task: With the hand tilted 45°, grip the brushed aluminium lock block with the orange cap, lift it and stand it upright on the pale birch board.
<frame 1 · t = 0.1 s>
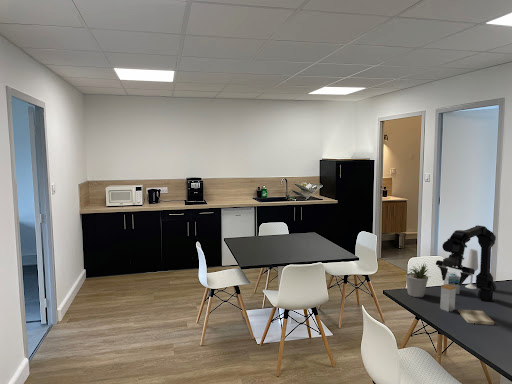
hand: (451, 282, 207), 15 cm above the table, tool pointing down, fingers open, 9 cm apart
aluminium lock block: (447, 309, 211), on the table
champagne flute: (470, 287, 248), on the table
birch board: (475, 318, 199), on the table
light bulb box: (451, 291, 241), on the table
potted plant: (416, 295, 232), on the table
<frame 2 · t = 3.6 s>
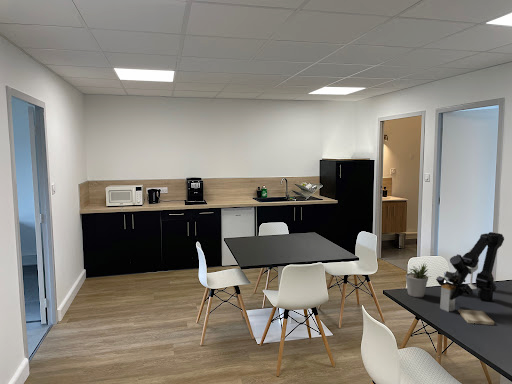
hand: (446, 297, 210), 7 cm above the table, tool tilted 45°, fingers closed on aluminium lock block, 5 cm apart
aluminium lock block: (447, 309, 211), on the table, touching gripper
everything else where it was.
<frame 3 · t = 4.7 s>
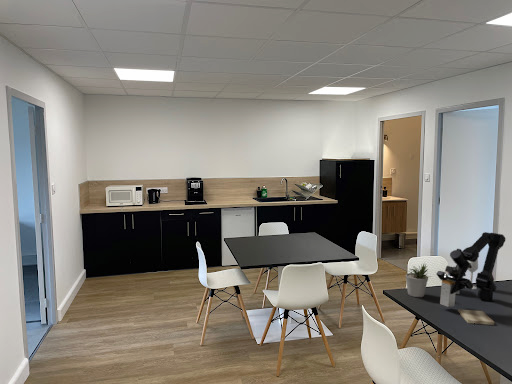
hand: (446, 292, 209), 10 cm above the table, tool tilted 45°, fingers closed on aluminium lock block, 5 cm apart
aluminium lock block: (447, 304, 211), point 3 cm above the table, touching gripper
everything else where it was.
when the fingers open (10 cm above the table, at t = 7.6 s): aluminium lock block stays where it is, resting on birch board.
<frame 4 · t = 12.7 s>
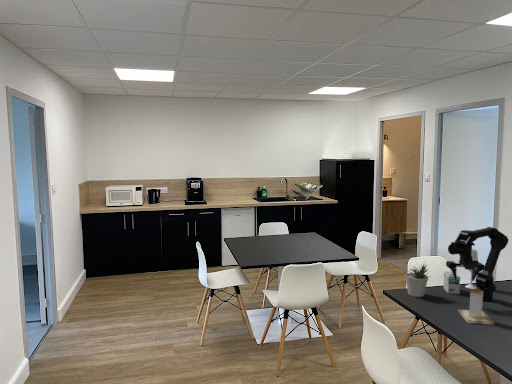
hand: (464, 280, 220), 13 cm above the table, tool pointing down, fingers open, 9 cm apart
aluminium lock block: (475, 315, 199), point 1 cm above the table, touching birch board
everything else where it was.
at the end: aluminium lock block inside the target area on the birch board (0.8 cm from its centre), point 1.5 cm above the birch board's base; aluminium lock block tilted 0°; the gripper is holding nothing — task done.
